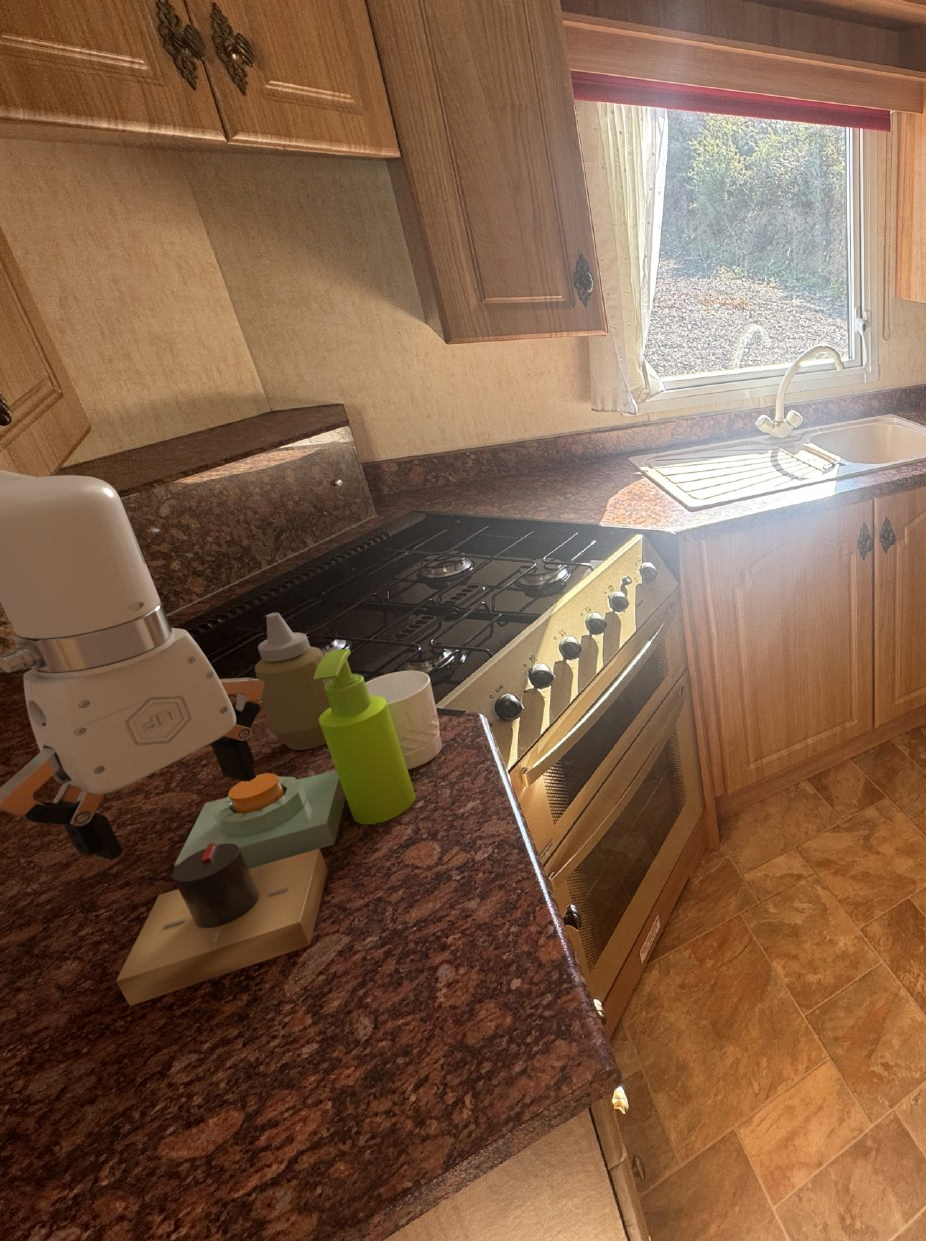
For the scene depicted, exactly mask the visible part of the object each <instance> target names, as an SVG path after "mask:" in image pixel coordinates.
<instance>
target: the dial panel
mask: <svg viewBox="0 0 926 1241" xmlns="http://www.w3.org/2000/svg"><path fill="white" fill-rule="evenodd" d="M328 869H329V868H328V867H327V864H326V862H325V859H324V856H323V854H322V851H321V849H316V850H313V851H309V852H306V853H302V854H299V855H295V856H292V857H288V858H285V859H281V860H278V861H274V862H271V863H268V864H264V865H261V866H257V867H254V868H250V869H249V871H250V874H251V876H252V878H253V881H254V883H255V885H256V887H257V890H258V892H259V898H258V900H257V902H256V903H255V905H254V906H253V907H252V908H251V909H250V910H248V911H247V912H246V913H245V914H243V915H242V916H240V917H238V918H237V919H235V920H233V921H231V922H228V923H226V924H223V925H220V926H216V927H211V928H202V927H199V926H197V925H196V924H195V922H194V920H193V918H192V916H191V914H190V912H189V910H188V908H187V906H186V904H185V902H184V899H183V897H182V895H181V893H180V891H179V889H178V888H177V889H174V890H170V891H167V892H164V893H161V894H158V896H157V898H156V900H155V902H154V904H153V906H152V908H151V910H150V912H149V914H148V916H147V918H146V920H145V922H144V924H143V926H142V928H141V930H140V932H139V934H138V936H137V938H136V940H135V942H134V944H133V946H132V948H131V950H130V952H129V954H128V956H127V957H126V960H125V962H124V964H123V966H122V968H121V970H120V972H119V973H118V976H117V978H116V979H115V983H116V984H117V986H118V989H120V990H119V991H121V993H122V995H123V996H124V998H125V1000H126V1001H127V1004H128V1005H129V1007H131V1006H134V1005H135V1006H136V1005H138V1004H140V1003H143V1002H146V1001H150V1000H153V999H155V998H158V997H161V996H164V995H167V994H170V993H174V992H177V991H179V990H182V989H185V988H189V987H192V986H194V985H197V984H200V983H204V982H206V981H209V980H212V979H215V978H218V977H221V976H225V975H227V974H230V973H233V972H235V971H239V970H242V969H245V968H247V967H250V966H254V965H257V964H259V963H263V962H265V961H269V960H271V959H274V958H278V957H281V956H283V955H286V954H289V953H291V952H295V951H298V950H301V949H304V948H307V947H310V945H311V941H312V937H313V933H314V929H315V925H316V922H317V917H318V915H319V914H318V913H319V910H320V905H321V901H322V897H323V892H324V890H325V885H326V881H327V876H328V874H329V873H328V872H329V870H328Z"/></svg>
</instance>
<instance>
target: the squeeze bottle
mask: <svg viewBox="0 0 926 1241" xmlns="http://www.w3.org/2000/svg"><path fill="white" fill-rule="evenodd" d="M266 635H267V636H266V637H267V639H265V640H263V641H262V642H260V643H259V644H258V646H257V650H258V652H259V655H260V658H261V659H260V660H259V661H258V662H257V664H256V665H255V667H254V672H255V676H256V677H255V678H256V679H259V680H262V681H263V682H264V687H263V692H262V696H261V702H262V703H261V704H262V708H263V712H264V716H265V721H266V725H267V728H268V729H269V730H270V732H272V734H274V735H275V736H276V738H277V739H279V740H280V741H281V742H282V743H283V744H284V745H285V746H287V748H288V749H289V750H294V751H306V750H311V749H315V748H319V747H322V746H324V745H327V743H326V740H325V737H324V734H323V731H322V729H321V726H320V723H319V717H320V716H321V714H322V713H323V712H324V711H326V710H327V709H328V708H330V704H329V702H328V699H327V696H326V693H325V690H324V687H325V685H326V684H327V683H328V682H329V681H331V680H332V678H328V679H322V680H314V679H313V678H314V674H315V671H316V669H317V666H318V664H319V663H320V661H321V660H322V658H323V657H324V656H325V654H324V652H323V651H322V650H321V649H320V648H318V647H315V646H311V645H310V641H309V640H308V637H307V635H306V634H305V633H303V632H293V631H292V630H291V628H290V626H289V625H288V624H287V622H286V621H285V619H284V618H283V617H282V615H281V614H280V613H279V612H272V613H269V614H267V615H266Z"/></svg>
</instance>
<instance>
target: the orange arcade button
mask: <svg viewBox="0 0 926 1241" xmlns="http://www.w3.org/2000/svg"><path fill="white" fill-rule="evenodd" d="M255 775H256V778H254V779H252V780H251V781H246V782H244V781H241V780H240V781H239V782H238V783H236V784H235V785H234V786H232V787H231V788H230V790H229V791H228V793H227V794H228V796H229V798H230V800H231V802H232V805H233V807H234V809H235V811H236V812H237V813H249V812H253V811H256V810H260V809H262V808H264V807H267V806H269V805H271V804H273V803H275V802H276V801H278V800H279V799H280V798H281V797H282V796H283V795H284V791H283V788H282V785H281V783H280V780H279V778H278V777H279V776H278V775H277V774H276V773H270V772H266V773H260V774H255Z"/></svg>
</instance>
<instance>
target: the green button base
mask: <svg viewBox="0 0 926 1241" xmlns="http://www.w3.org/2000/svg"><path fill="white" fill-rule="evenodd" d="M278 778H279V780H280V783H281V785H282V788H283V791H284V795H283V796H282V797H281V798H280V799H279V800H278V801H276V802H275V803H273V804H271V805H269V806H267V807H264V808H262V809H260V810H256V811H253V812H249V813H237V812H236V811H235V809H234V807H233V805H232V802H231V800H230V798H229V795H228V796H226V797H224V798H223V797H222V798H219V799H215V800H212V801H207V802H204V804H203V807H202V809H201V810H200V812H199V815H198V816H197V819H196V820H195V822H194V824H193V827H192V828H191V831H190V833H189V835H188V836H187V838H186V840H185V843H184V844H183V847H182V849H181V851H180V853H179V855H178V857H177V858H176V861H175V862H174V864H173V866H174V869H175V868H176V867H177V866H178V865H179V864H180V863H181V862H182V861H183V860H185V859H186V858H188V857H189V856H191V855H192V854H194V853H196V852H198V851H200V850H203V849H205V848H207V845H208V844H212V843H216V845H219V844H227V843H229V844H235V845H237V846H238V847H239V849H240V851H241V853H242V855H243V858H244V860H245V862H246V865H247V867H248V869H250V868H254V867H257V866H261V865H264V864H268V863H271V862H274V861H278V860H281V859H285V858H288V857H292V856H295V855H299V854H302V853H306V852H309V851H313V850H316V849H320V850H321V849H324V848H328V847H332V846H335V845H336V840H337V835H338V832H339V827H340V824H341V819H342V815H343V812H344V807H345V804H344V803H346V800H345V798H346V796H345V793H344V790H343V788H342V785H341V782H340V779H339V776H338V774H337V771H336V769H335V770H331V771H327V772H323V773H320V774H315V775H311V776H307V777H303V778H300V779H299V778H298V779H297V778H296V777H295V776H278Z"/></svg>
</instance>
